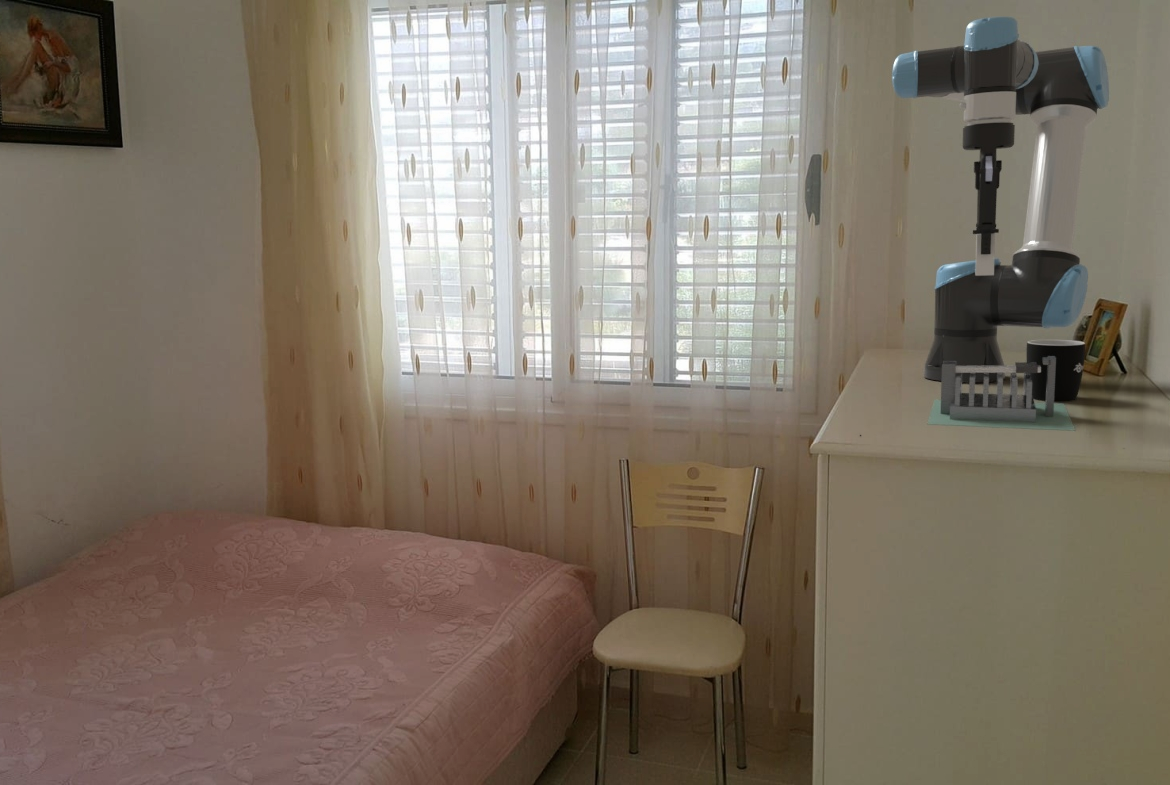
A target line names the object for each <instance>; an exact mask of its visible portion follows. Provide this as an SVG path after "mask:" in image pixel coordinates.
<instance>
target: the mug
mask: <svg viewBox="0 0 1170 785" xmlns="http://www.w3.org/2000/svg"><path fill="white" fill-rule="evenodd" d="M1048 356H1055V357H1056V370H1055V391H1054V403H1059V402H1060V403H1061V402H1064V403H1065V402H1073V401H1076V399H1077V397H1078V395H1079V392H1080V388H1081V385H1082V384H1081V383H1082V378H1083V373H1084V367H1085V357H1086V342H1084V341H1081V340H1069V339H1068V340H1067V339H1034V340H1028V341H1027V342H1026V362H1036V363H1037V365H1040V366H1041V373H1030V376H1031V379H1032V396H1033V400H1034V401H1042V402H1046V383H1047V365H1043V362H1042V361H1043V357H1048Z"/></svg>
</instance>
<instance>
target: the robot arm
mask: <svg viewBox="0 0 1170 785" xmlns="http://www.w3.org/2000/svg"><path fill="white" fill-rule="evenodd" d="M1018 26H1019V25H1018V21H1017V19H1016V18H1015V17H1012V16H991V17H985V18H979V19H978V18H977V19H975V20H972V21H971V22H969V23H968V25H967V26H966V28H965V36H964V37H965V38H964V43H963V45H957V46H952V47H944V48H943V47H942V48H935V49H925V50H914V51H911V52H905V53H901V54H899V55H898V56H897V57H896V58H895V60H894V63H893V66H892V72H891V73H892V74H891V80H892V86H893V90H894V93H895V94H896V96H897V97H899V98H901V99H911V98H912V99H917V98H924V97H929V98H938V99H942V100H948V101H949V100H950V101H956V102H960V103H959V109H960V110H964V111H963V122H965V123H967V125H965V126H964V127H963V128H962V149H963V150H965V151H979V159H978V161H974V162H973V173H974V175H975V176H974V180H975V181H974V183H975V184H974V188H975V190H977V200H976V201H977V202H976V204H977V205H976V208H977V209H976V212H977V214H976V224H975V227H976V229H973V230H972V235H976V236H975V237H976V238H975V239H976V240H975V260H970V261H969V260H968V261H962V262H954V263H947V264H943V265H941V266H940V267H939V268H938V269H937V271H936V275H935V276H936V279H935V286H934V289H933V290H934V291H935V292H934V326H933V329H934V331H933V332H934V333H933V334H934V335H933V341H932V344H931V347H930V349H929V352H928V354H927V356H926V357H927V358H926V360H925V363H924V366H923V377H924V378H926V379H928V380H933V381H940V382H941V381H942V364H943V361H957V362H956V366H993V365H1005V362H1004V359H1003V356H1002V352H1001V350H1000V345H999V342H998V327H999V326H1000V327H1020V328H1021V327H1024V328H1026V327H1027V328H1043V329H1050V328H1069V327H1070V326H1072V325H1073V324H1074V323H1075V322H1076V321H1077V320H1078V318H1079V317H1080V314H1081V312H1082V310H1083V308H1084V304H1085V300H1086V297H1087V292H1088V280H1089V271H1088V268H1087V267H1086V266H1085V265H1083V264H1081V257H1080V255H1079V254H1078V253H1077V252H1076V251H1075V250H1074V249H1073V244H1074V243H1073V242H1074V236H1075V234H1074V233H1075V228H1076V227H1075V226H1076V218H1077V211H1078V200H1079V192H1080V183H1081V176H1082V166H1083V161H1084V160H1083V158H1084V151H1085V150H1084V149H1085V144H1086V143H1085V141H1086V134H1087V133H1086V132H1087V128H1088V127H1089V126H1090V125H1092V124H1093V123H1094V122H1095V121H1097V120H1096V119H1097V115H1098V110H1102V109H1104V108H1106V107H1108V105H1109V102H1110V100H1109V99H1110V84H1109V74H1108V66H1107V62H1106V56H1105V54H1104V52H1103V50H1102V48H1100V47H1099V46H1096V45H1085V46H1077V45H1074V46H1073V47H1072V46H1071V47H1066V48H1065V47H1064V48H1058V49H1055V48H1054V49H1049V50H1041V51H1035V50H1034V48H1033V47H1032V46H1030V44H1029V43H1027V42H1025V41H1023V40H1020V39H1019V37H1020V34H1019V33H1018V31H1019V30H1018V28H1019V27H1018ZM1022 115H1029V121H1030V123H1032V124H1033V125H1034V126H1035V127H1036V133H1035V142H1034V149H1033V150H1034V151H1033V159H1032V166H1031V167H1032V168H1031V173H1030V174H1031V175H1030V182H1029V192H1028V200H1027V207H1026V210H1027V211H1026V214H1025V215H1026V216H1025V226H1024V234H1023V241H1022V246H1021V247H1020V248H1019V249H1018V250H1016V251H1014V253H1013V254H1012V260H1011V264H1007V265H1003V264H1001V263H1002V262H1001V260H1000V258H999V257H995V253H996V247H995V246H996V234H998V233H999V232H1000V231H999V230H1000V229H999V228H997V223H996V222H997V221H996V220H997V197H998V196H997V195H998V189H999V188H1000V181H1001V180H1000V176H1001V175H1000V173H1001V172H1002V167H1003V166H1002V164H1003V163H1002V162H1003V161H1002V160H1001V159H998V160H997V150H999V149H1010V148H1013V147H1014V146H1015V124H1014V123H1013V122H1012V120H1014V119H1015V118H1016V116H1022ZM956 375H957V373H956ZM1002 375H1003V380H1005V378H1006V373H1002ZM969 382H970V373H962V383H969ZM990 382H991V383H992V382H997V373H989V383H990ZM975 383H984V373H975Z"/></svg>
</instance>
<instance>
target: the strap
mask: <svg viewBox="0 0 1170 785" xmlns="http://www.w3.org/2000/svg"><path fill="white" fill-rule="evenodd" d="M956 373H1005V374H1007V373H1009V374H1011V373H1016V374H1024V373H1041V366H1040V365H1037V363H1036V362H1027V361H1025V362H1019V361H1017V362H1016V361H1015V364H1014V365H1013V364H1012V365H1005V364H1004V365H993V366H956Z"/></svg>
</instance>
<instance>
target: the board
mask: <svg viewBox="0 0 1170 785" xmlns="http://www.w3.org/2000/svg"><path fill="white" fill-rule="evenodd" d="M932 404H933V405H932V407H931V410H930V413H929V417H928V420H927V425H930V426H933V425H935V426H956V427H979V428H998V429H999V428H1001V429H1002V428H1003V429H1022V430H1023V429H1025V430H1027V429H1028V430H1044V431H1045V430H1047V431H1070V432H1071V431H1072V432H1073V431H1074V432H1076V429H1075V427H1074V423H1073V422H1072V419H1071V417H1070V415H1069V413H1068V411H1067V408H1066V406H1065V403H1061V402H1060V403H1059V402H1054V413H1053V417H1046V415H1045V404H1046V402H1034V404H1035V407H1036V422H1035V423H1030V422H1006V421H981V420H957V419H950V414H941V398H939V399H938V398H934V400H933V403H932Z"/></svg>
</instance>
